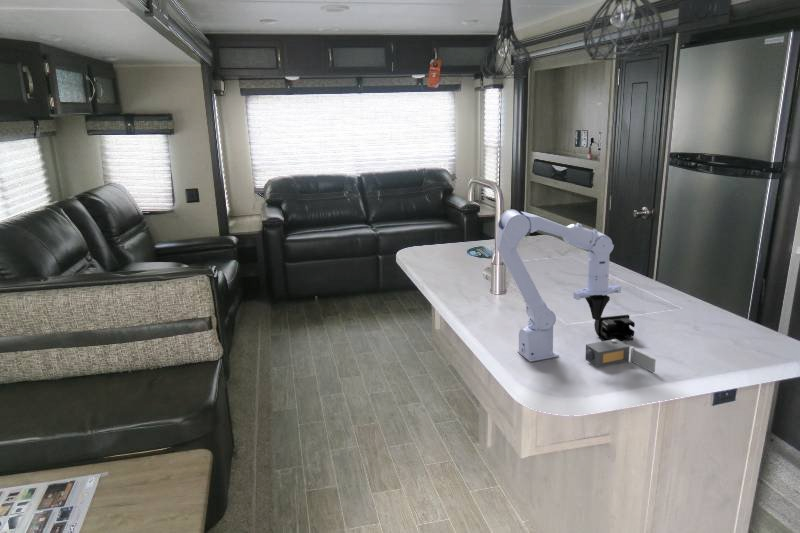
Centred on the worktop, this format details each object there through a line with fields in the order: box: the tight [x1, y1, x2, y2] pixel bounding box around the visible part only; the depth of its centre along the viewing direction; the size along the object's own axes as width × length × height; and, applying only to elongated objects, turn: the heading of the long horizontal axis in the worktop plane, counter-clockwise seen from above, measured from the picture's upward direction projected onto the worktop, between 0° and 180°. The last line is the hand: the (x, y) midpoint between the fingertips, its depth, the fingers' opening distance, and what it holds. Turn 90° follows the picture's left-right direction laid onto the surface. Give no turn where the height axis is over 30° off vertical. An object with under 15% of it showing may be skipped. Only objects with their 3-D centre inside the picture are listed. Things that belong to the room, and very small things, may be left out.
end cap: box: [593, 314, 636, 342], centre depth 176 cm, size 10×7×7 cm
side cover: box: [629, 346, 657, 373], centre depth 156 cm, size 9×1×4 cm, turn 20°
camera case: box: [585, 339, 631, 368], centre depth 161 cm, size 11×6×5 cm, turn 106°
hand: (596, 318), depth 166 cm, fingers closed
